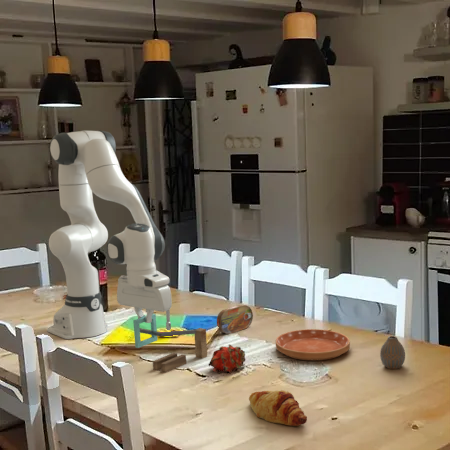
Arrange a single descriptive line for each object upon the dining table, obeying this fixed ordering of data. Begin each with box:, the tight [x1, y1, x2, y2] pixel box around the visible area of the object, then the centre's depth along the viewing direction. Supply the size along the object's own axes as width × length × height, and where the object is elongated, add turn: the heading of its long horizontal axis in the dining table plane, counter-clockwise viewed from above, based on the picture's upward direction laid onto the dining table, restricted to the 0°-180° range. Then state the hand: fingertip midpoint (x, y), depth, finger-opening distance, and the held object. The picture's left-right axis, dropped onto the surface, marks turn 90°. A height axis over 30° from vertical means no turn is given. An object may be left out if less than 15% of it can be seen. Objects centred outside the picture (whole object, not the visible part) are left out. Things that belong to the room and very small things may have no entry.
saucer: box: [275, 328, 351, 361], centre depth 215 cm, size 23×23×4 cm
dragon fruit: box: [208, 344, 246, 374], centre depth 199 cm, size 8×8×12 cm
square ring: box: [132, 313, 158, 349], centre depth 212 cm, size 1×8×8 cm, turn 142°
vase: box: [379, 335, 406, 370], centre depth 197 cm, size 7×7×9 cm
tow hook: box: [165, 308, 172, 330], centre depth 238 cm, size 8×13×9 cm
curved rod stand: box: [140, 327, 208, 359], centre depth 212 cm, size 21×12×10 cm, turn 52°
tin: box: [216, 304, 254, 335], centre depth 239 cm, size 15×3×8 cm, turn 131°
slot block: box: [152, 352, 187, 373], centre depth 203 cm, size 5×9×4 cm, turn 142°
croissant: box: [248, 389, 308, 427], centre depth 168 cm, size 21×10×8 cm, turn 35°
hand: (145, 321), depth 211 cm, fingers closed on square ring, 1 cm apart
